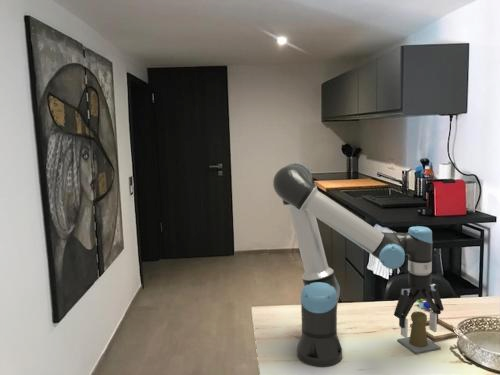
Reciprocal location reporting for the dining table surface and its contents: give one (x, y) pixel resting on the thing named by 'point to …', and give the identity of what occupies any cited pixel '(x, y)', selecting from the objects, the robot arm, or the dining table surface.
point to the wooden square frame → (440, 337)
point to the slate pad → (418, 350)
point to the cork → (418, 330)
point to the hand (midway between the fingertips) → (418, 333)
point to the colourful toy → (423, 304)
